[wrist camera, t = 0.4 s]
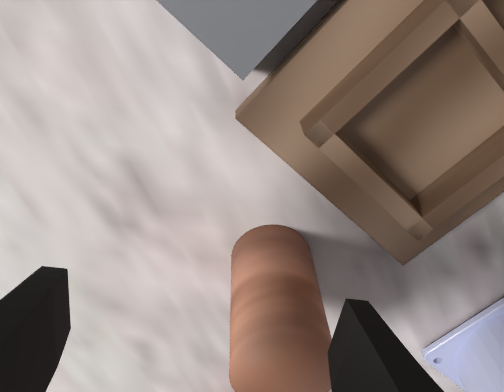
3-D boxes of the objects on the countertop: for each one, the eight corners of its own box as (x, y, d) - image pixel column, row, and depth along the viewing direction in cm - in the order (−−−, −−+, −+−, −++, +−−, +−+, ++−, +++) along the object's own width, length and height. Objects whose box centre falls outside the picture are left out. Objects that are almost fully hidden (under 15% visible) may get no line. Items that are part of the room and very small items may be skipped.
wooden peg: (326, 255, 22) (360, 371, 16) (271, 300, 24) (283, 422, 18) (270, 209, 21) (284, 318, 15) (215, 260, 22) (206, 378, 16)
